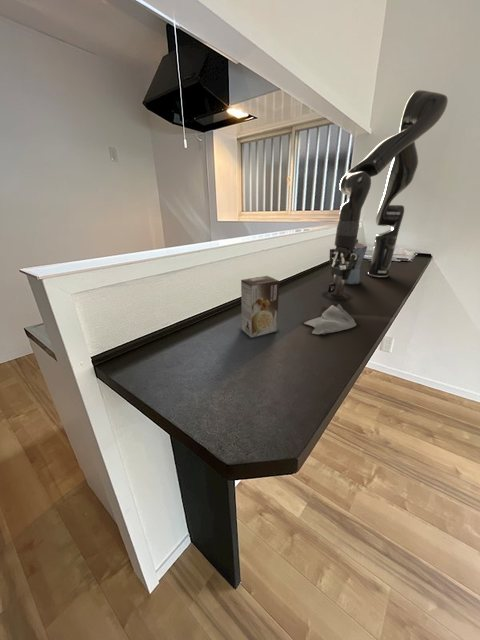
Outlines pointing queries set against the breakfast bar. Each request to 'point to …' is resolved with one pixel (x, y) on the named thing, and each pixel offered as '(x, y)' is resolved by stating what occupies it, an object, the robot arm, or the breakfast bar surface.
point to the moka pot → (355, 273)
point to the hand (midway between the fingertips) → (339, 277)
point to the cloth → (332, 321)
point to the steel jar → (337, 281)
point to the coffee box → (259, 305)
